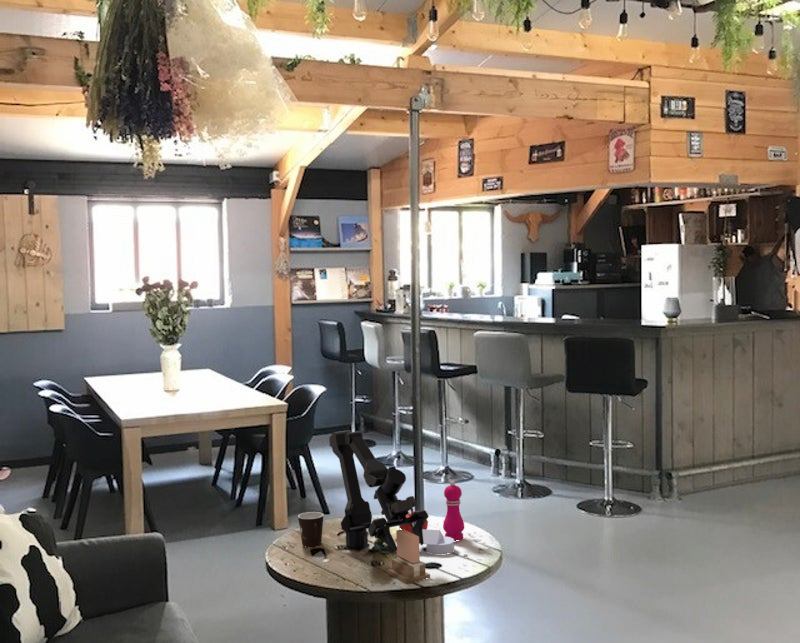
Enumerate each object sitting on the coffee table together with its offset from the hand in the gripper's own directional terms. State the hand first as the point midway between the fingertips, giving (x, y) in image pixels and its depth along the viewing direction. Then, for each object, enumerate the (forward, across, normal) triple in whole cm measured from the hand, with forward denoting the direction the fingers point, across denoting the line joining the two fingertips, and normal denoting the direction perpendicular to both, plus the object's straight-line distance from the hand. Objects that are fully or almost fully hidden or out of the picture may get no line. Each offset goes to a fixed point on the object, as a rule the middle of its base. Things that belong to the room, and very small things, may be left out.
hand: (409, 547), depth 243 cm
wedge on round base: (-5, +19, +18) cm, 27 cm away
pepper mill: (-9, +31, +22) cm, 39 cm away
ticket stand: (+6, 0, +7) cm, 9 cm away
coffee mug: (-25, -12, +38) cm, 47 cm away
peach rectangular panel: (+2, 0, +3) cm, 4 cm away
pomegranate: (-18, +23, +31) cm, 42 cm away
